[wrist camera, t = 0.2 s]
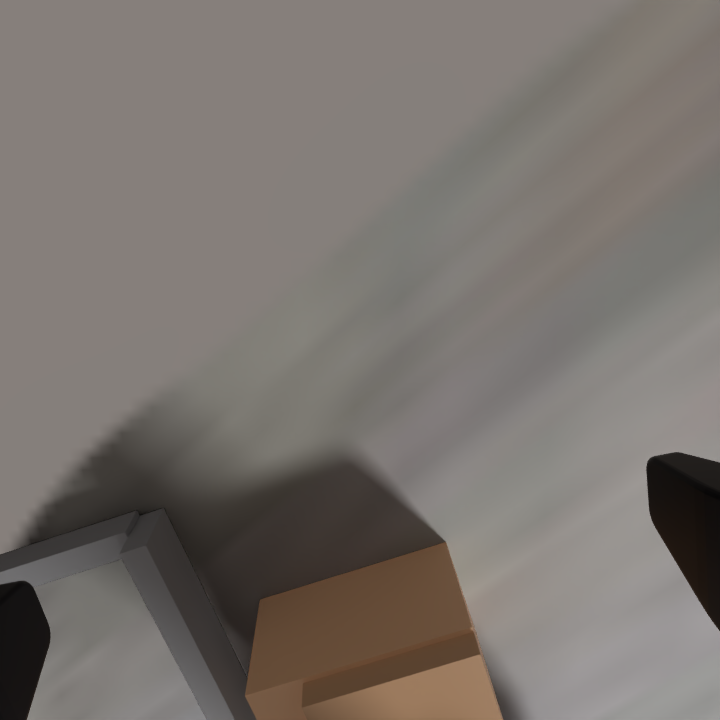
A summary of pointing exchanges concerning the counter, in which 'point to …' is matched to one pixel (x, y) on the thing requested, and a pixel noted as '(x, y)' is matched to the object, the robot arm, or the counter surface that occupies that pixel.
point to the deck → (150, 598)
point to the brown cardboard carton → (372, 647)
